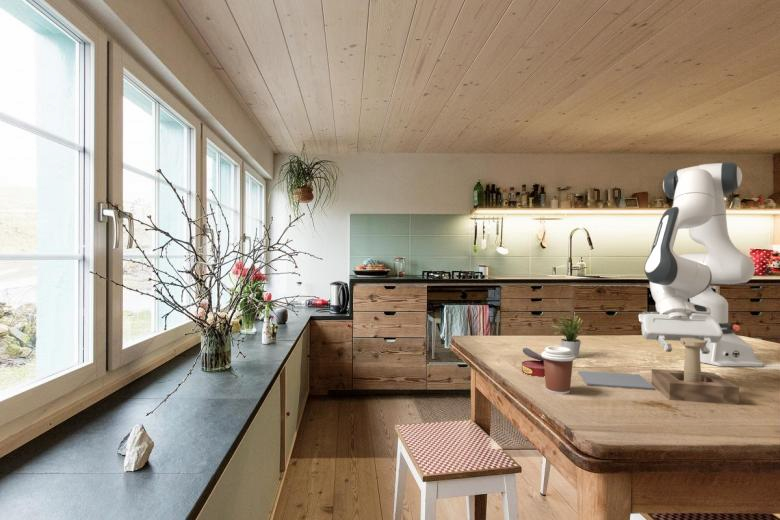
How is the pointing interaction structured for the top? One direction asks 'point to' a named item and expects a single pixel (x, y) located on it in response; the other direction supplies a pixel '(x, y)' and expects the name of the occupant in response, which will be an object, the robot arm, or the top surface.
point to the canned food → (533, 364)
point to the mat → (615, 380)
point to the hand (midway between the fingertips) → (687, 351)
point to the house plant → (570, 334)
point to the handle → (692, 358)
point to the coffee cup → (558, 368)
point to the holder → (695, 387)
